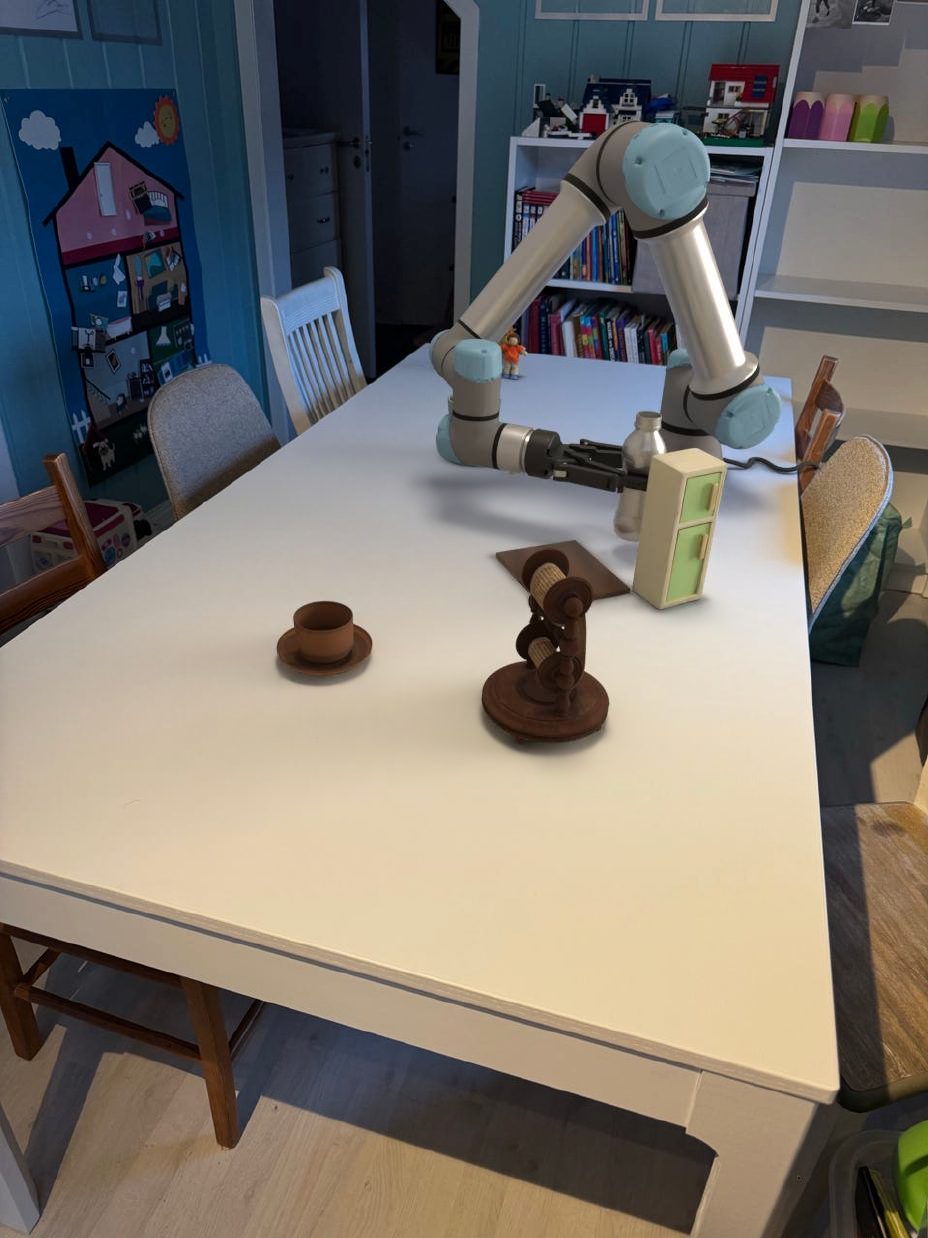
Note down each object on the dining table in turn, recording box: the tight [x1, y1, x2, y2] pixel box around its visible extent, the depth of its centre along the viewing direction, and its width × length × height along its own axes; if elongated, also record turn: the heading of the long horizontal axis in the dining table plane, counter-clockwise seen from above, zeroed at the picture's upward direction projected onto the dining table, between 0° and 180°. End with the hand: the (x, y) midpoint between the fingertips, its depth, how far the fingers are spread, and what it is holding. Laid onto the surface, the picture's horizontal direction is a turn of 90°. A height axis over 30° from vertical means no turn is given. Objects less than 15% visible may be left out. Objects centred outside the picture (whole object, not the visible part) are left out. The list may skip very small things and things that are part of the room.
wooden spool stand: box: [481, 548, 610, 746], centre depth 99 cm, size 15×15×20 cm
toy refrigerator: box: [631, 448, 728, 610], centre depth 123 cm, size 8×7×21 cm
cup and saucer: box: [275, 600, 374, 676], centre depth 111 cm, size 12×12×6 cm
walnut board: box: [495, 539, 631, 601], centre depth 133 cm, size 14×17×1 cm
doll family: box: [498, 326, 528, 380], centre depth 223 cm, size 21×10×13 cm, turn 80°
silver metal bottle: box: [612, 410, 666, 543], centre depth 134 cm, size 6×7×20 cm
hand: (675, 478), depth 132 cm, fingers closed on silver metal bottle, 6 cm apart
